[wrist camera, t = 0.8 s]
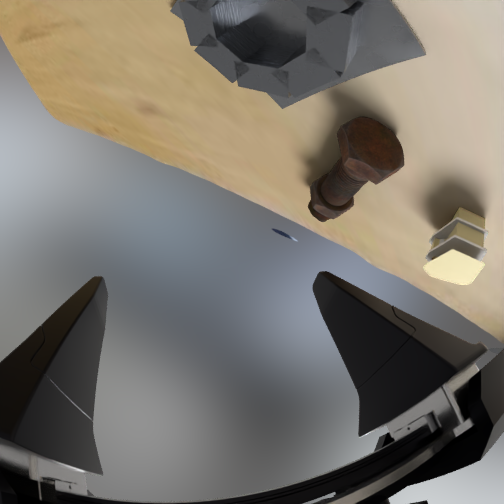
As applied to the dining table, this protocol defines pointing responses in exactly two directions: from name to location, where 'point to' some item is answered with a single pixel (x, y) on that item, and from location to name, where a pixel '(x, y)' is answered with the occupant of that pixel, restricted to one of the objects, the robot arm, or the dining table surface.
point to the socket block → (297, 41)
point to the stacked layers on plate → (458, 249)
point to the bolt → (356, 166)
